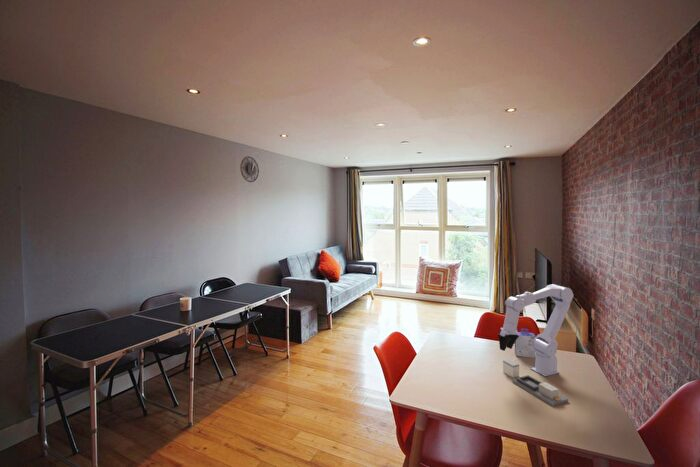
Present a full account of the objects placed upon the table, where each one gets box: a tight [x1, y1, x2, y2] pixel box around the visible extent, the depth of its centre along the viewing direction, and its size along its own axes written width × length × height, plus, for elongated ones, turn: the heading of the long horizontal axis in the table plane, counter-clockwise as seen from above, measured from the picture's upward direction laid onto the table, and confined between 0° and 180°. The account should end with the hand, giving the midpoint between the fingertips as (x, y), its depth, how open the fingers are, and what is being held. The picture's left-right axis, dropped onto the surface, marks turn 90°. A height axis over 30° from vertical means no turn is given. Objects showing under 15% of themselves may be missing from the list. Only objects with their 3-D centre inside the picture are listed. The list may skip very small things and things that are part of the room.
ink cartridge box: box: [514, 328, 537, 359], centre depth 175 cm, size 10×6×14 cm, turn 72°
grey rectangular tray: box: [512, 374, 569, 407], centre depth 139 cm, size 9×20×5 cm, turn 20°
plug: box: [502, 358, 520, 379], centre depth 155 cm, size 4×6×6 cm, turn 20°
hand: (505, 349), depth 153 cm, fingers open, 7 cm apart
